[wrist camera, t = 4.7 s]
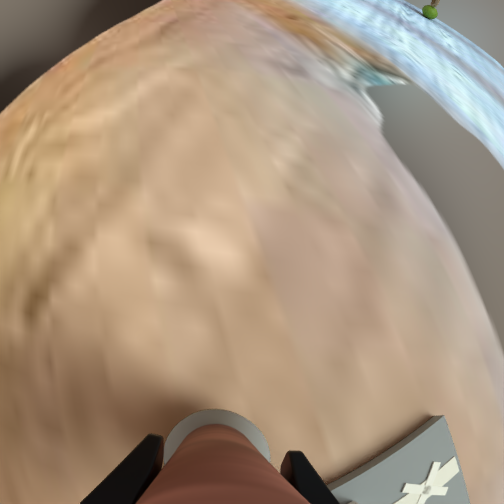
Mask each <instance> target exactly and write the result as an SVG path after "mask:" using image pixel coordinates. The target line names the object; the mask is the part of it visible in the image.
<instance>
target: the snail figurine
mask: <svg viewBox="0 0 504 504" xmlns="http://www.w3.org/2000/svg"><path fill="white" fill-rule="evenodd" d="M439 1H440V0H432V2H431V5H426V6H424V7H423V9H422V12H423V14H424V16H425V17H427V18H428V19H435V18H436V17H437V14H438V13H437V10H436V9H435V8H434V7H436V6H437V5H438V3H439Z"/></svg>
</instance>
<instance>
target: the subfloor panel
mask: <svg viewBox="0 0 504 504" xmlns="http://www.w3.org/2000/svg"><path fill="white" fill-rule="evenodd" d="M326 486H327V487H328V488H329V490H330V491H331V492H332V494H333V495H334V496H335V498H336V499H337V500H338V501H339V503H340V504H348V503H350V502H352V501H355V502H357V503H359V504H470V501H469V496H468V492H467V488H466V484H465V481H464V477H463V473H462V470H461V466H460V463H459V459H458V456H457V453H456V450H455V446H454V443H453V440H452V437H451V434H450V431H449V428H448V425H447V422H446V419H445V417H444V415H442V416H433V417H432V418H431V419H430V420H428V421H427V422H426V423H424V424H423V425H422V426H421V427H419V428H418V429H417V430H415V431H414V432H412V433H411V434H410V435H408V436H407V437H406V438H404V439H403V440H401V441H400V442H398V443H397V444H396V445H394V446H393V447H391V448H390V449H388V450H387V451H385V452H383V453H382V454H380V455H379V456H377V457H376V458H374V459H372V460H371V461H369V462H368V463H366V464H364V465H363V466H361V467H359V468H357V469H356V470H354V471H352V472H350V473H349V474H347V475H345V476H343V477H341V478H340V479H338V480H336V481H334V482H332V483H330V484H328V485H326Z"/></svg>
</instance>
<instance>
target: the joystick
mask: <svg viewBox="0 0 504 504" xmlns="http://www.w3.org/2000/svg"><path fill="white" fill-rule="evenodd" d="M163 457H164V464H165V466H164V467H163V468H162V470H161V471H160V473H159V474H158V475H157V477H156V478H155V479H154V480H153V482H152V483H151V484H150V486H149V487H148V488H147V490H146V491H145V492H144V494H143V495H142V496H141V498H140V499H139V500H138V501H137V503H136V504H310V503H309V502H308V501H307V500H306V499H305V498H304V497H303V496H302V495H301V494H300V493H299V492H298V491H297V490H296V489H295V488H294V487H293V486H292V485H291V484H290V483H289V482H288V481H287V480H286V479H285V478H284V477H283V476H282V475H281V474H280V473H279V472H278V471H277V470H276V469H275V468H274V467H273V466H272V465H271V464H270V451H269V447H268V444H267V441H266V439H265V437H264V435H263V434H262V433H261V431H260V430H259V429H258V428H257V427H256V426H255V425H254V424H253V423H252V422H250V421H249V420H247V419H246V418H244V417H243V416H241V415H239V414H237V413H234V412H231V411H228V410H223V409H207V410H202V411H198V412H196V413H193V414H191V415H189V416H187V417H186V418H185V419H183V420H182V421H180V422H179V423H178V424H177V425H176V426H175V427H174V428H173V429H172V431H171V432H170V434H169V436H168V437H167V440H166V442H165V446H164V456H163Z"/></svg>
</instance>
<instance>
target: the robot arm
mask: <svg viewBox="0 0 504 504" xmlns="http://www.w3.org/2000/svg"><path fill="white" fill-rule="evenodd" d="M163 456H164V443H163V437H162V436H161V435H156V434H148V435H147V436H146V437H145V438H144V439H143V440H142V441H141V442H140V443H139V444H138V445H137V446H136V448H135V449H134V450H133V451H132V452H131V453H130V454H129V455H128V456H127V457H126V458H125V459H124V460H123V461H122V462H121V463H120V464H119V465H118V466H117V467H116V468H115V469H114V470H113V471H112V472H111V473H110V474H109V475H108V476H107V477H106V478H105V479H104V480H103V481H102V482H101V483H100V484H99V485H98V486H97V487H96V488H95V489H94V490H93V491H92V492H91V493H90V494H89V495H88V496H87V497H86V498H84V499H83V500H82V501H81V502H80V504H136V503H137V501H138V500H139V499H140V498H141V496H142V495H143V494H144V492H145V491H146V490H147V488H148V487H149V486H150V484H151V483H152V482H153V480H154V479H155V478H156V477H157V475H158V474H159V473H160V471H161V468H162V462H163ZM280 474H281V475H282V476H283V477H284V478H285V479H286V480H287V481H288V482H289V483H290V484H291V485H292V486H293V487H294V488H295V489H296V490H297V491H298V492H299V493H300V494H301V495H302V496H303V497H304V498H305V499H306V500H307V501H308V502H309V503H310V504H340V503H339V501H338V500H337V499H336V498H335V496H334V495H333V494H332V492H331V491H330V490H329V488H328V487H327V486H326V484H325V483H324V482H323V480H322V479H321V477H320V476H319V475H318V473H317V472H316V471H315V469H314V468H313V466H312V465H311V464H310V462H309V461H308V459H307V458H306V457H305V455H304V454H303V453H302V452H301V451H288V452H287V453H286V455H285V458H284V460H283V462H282V464H281V470H280Z"/></svg>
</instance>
